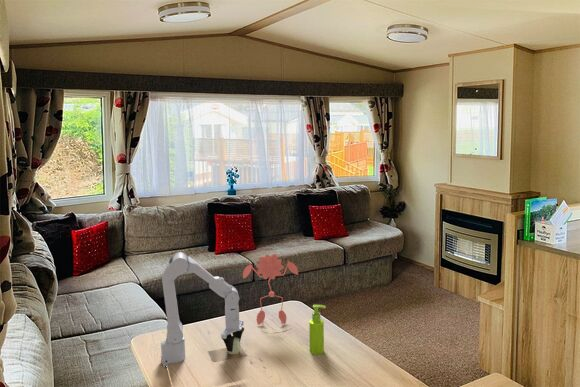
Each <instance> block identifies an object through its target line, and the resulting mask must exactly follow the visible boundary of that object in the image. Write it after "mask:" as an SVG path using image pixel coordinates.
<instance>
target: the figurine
mask: <svg viewBox="0 0 580 387" xmlns="http://www.w3.org/2000/svg"><path fill="white" fill-rule="evenodd" d="M258 259H259V262H258V263H257V264H256V266H255V267H256V268H257V270H256V269H255V268H254V267H253V265H252V264H251V263H250V264H248V265H247V266H246V267H245V268H244V269H243V271H242V278H243V279H245V278H247V277H248V276H249V275H250V274H251V273H252V270H253V271H254V272H255V274H256V275H258V277H259V278H263V280H267V279H268V281H267V283H268V287H269V290H270V291H269V292H268V295H265V296H263V297H260V299H259V302H260V311H259V312H258V313H257V316H256V323H257V325H258V326H260V325H261V324H262V323H263V322H264V320H265V319H266V312H265V311H264V310H263V308H262V299H264V298H267V297H270V298H273V297H278V298H281V306H283V304H284V303H283V302H284V298H283V297H282V296H279V295H275V291H272V287H271V284H270V281H271V280H275V279H276V277H282V276H285V274H286V272H287V269H288V270H289V271H290V272H291V273H292V274H294V275H297V276H298V275H299V268H298V267H297V266H296V264H295V263H293V262H291V261H287V265H286V267H285V266H284V265H283V264H282V259H281V258H279V259H278V256H277V254H276V253H273V254H272V255H269V254H265V256H260V257H258ZM284 268H285V270H284V272H283V274H282V272H281V271H282V270H283V269H284ZM261 274H262V275H261ZM278 319H279V320H280V322H282V324H284V325H285V324H287V314H286V313H285V311H284V310H283V307H281V309H280V310H279V311H278ZM290 330H291V328H289V329H287V330H283V331H281V333H284V332H287V331H290ZM263 333H265V334H266V333H267V331H266V332H264V331H263ZM276 333H277V334H278V333H280V331H278V332H275V334H276Z"/></svg>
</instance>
